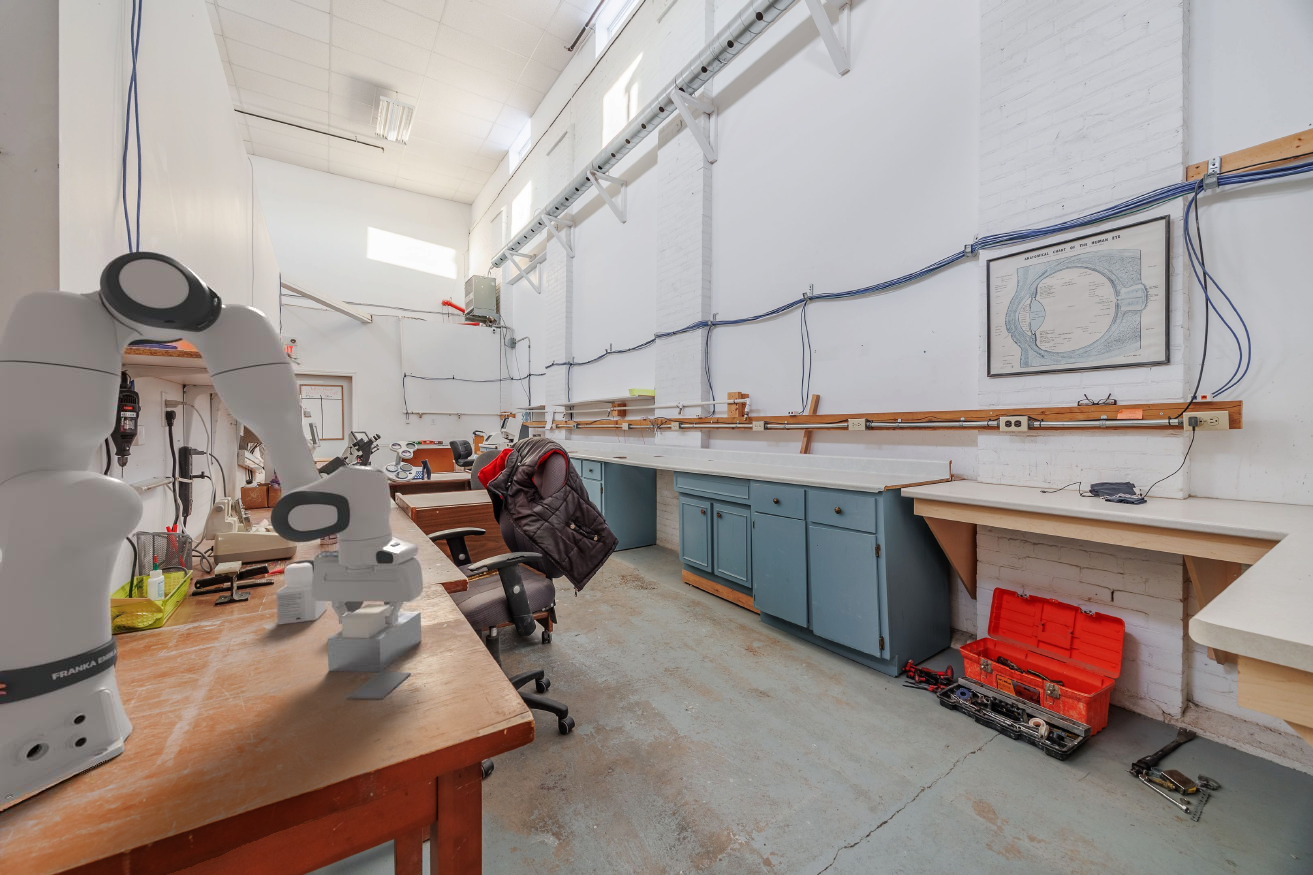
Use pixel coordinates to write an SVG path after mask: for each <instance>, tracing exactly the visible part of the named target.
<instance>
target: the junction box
mask: <svg viewBox="0 0 1313 875" xmlns="http://www.w3.org/2000/svg"><path fill="white" fill-rule="evenodd" d="M421 614H422V612H421V611H399V612H398V622H397V623H395V624H394V625H393V624H389V625H388V626H386V627H384V628H383V629H381V630H380V631H378V632H377V633H375V634H374V635H372V636H370V637H369V638H349V637H342V629H341V630H339V631H338V632H336V633H334V634H333V635H331V636H329V637H327V657H328V658H327V660H328V661H327V662H328V663H327V664H328V665H327V666H328V671H329V672H360V673H378V672H384V671H385V669H387V668H388V667H389V666H390V665H392V664H393V663H395V662H396V661H397V660H398V659H400V658H401V657H402V656H403V655H405V654H406V653H407V652H408V651H410V650H411V649H412V648H414V647H415V646H417V645H418V644H419V643H420V642H421V641H422V621H421V620H422V617H421Z"/></svg>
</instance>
